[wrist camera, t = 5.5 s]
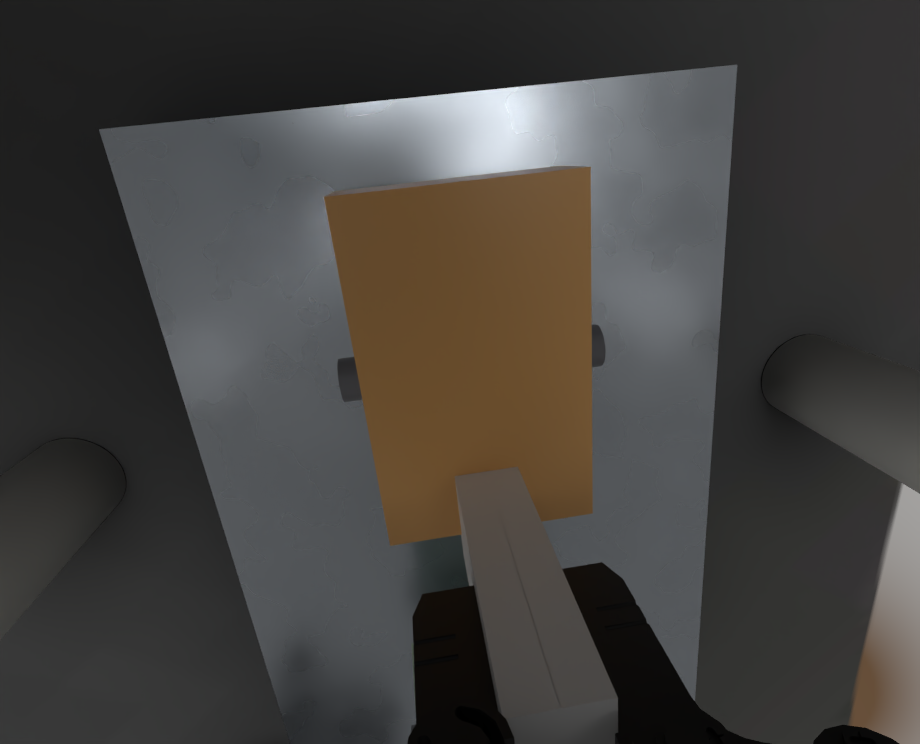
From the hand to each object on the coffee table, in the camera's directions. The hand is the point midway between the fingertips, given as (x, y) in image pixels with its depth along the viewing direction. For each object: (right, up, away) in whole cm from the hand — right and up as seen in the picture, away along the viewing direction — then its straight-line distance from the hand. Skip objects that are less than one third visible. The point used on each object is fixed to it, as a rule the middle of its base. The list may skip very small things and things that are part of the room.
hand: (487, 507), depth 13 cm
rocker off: (0, +4, -1) cm, 4 cm away
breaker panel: (0, 0, +6) cm, 6 cm away
